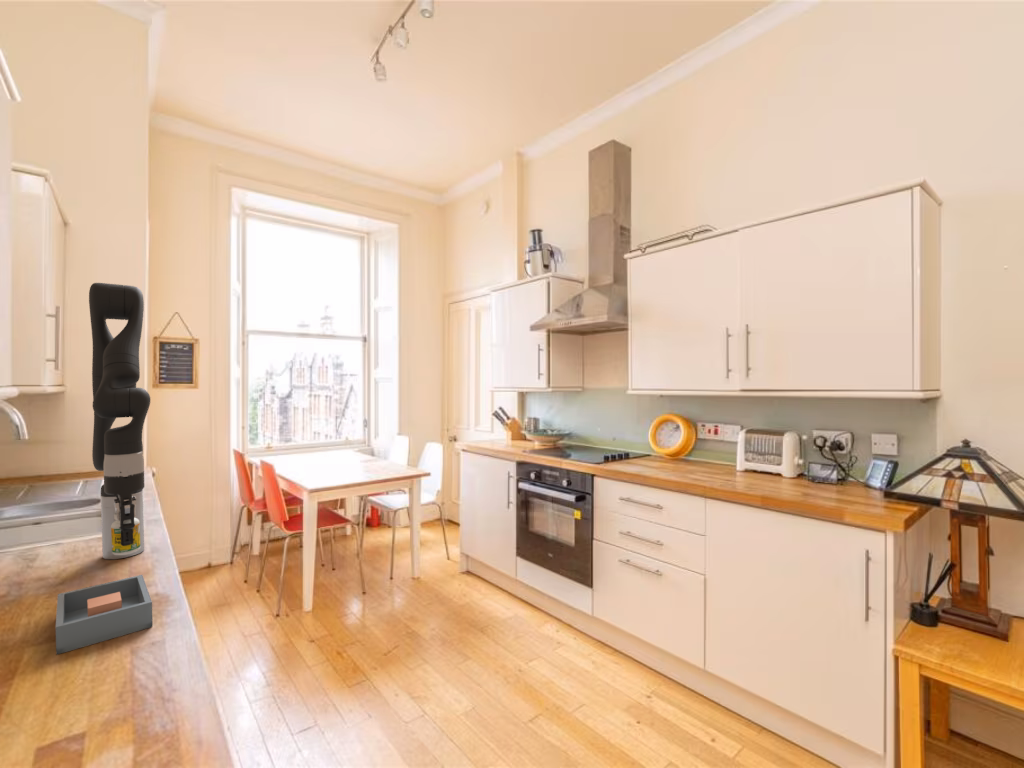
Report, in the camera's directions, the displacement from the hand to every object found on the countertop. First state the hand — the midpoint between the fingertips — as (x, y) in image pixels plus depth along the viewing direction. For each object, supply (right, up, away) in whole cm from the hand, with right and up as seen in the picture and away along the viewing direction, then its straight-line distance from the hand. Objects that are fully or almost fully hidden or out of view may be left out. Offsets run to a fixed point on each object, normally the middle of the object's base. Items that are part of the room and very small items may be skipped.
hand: (126, 541), depth 116 cm
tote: (+10, -11, -17) cm, 23 cm away
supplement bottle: (0, -3, 0) cm, 3 cm away
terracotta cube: (+12, -10, -20) cm, 26 cm away
